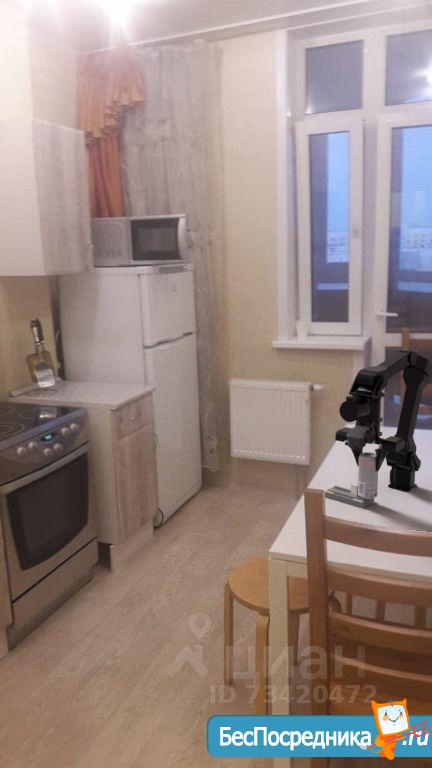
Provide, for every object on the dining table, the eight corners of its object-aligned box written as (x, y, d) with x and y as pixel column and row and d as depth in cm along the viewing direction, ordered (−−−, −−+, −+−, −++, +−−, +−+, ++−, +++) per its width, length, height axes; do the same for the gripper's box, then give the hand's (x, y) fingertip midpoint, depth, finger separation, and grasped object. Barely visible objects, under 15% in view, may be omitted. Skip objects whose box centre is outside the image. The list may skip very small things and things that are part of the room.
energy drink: (374, 491, 175) (375, 451, 173) (379, 498, 170) (380, 457, 167) (355, 492, 175) (356, 452, 173) (360, 499, 170) (361, 458, 167)
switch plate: (374, 501, 175) (374, 494, 174) (363, 508, 171) (363, 501, 170) (335, 490, 184) (335, 484, 183) (324, 496, 179) (324, 489, 179)
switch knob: (361, 495, 175) (361, 484, 175) (356, 498, 174) (357, 486, 173) (355, 493, 177) (355, 482, 176) (350, 496, 175) (350, 484, 174)
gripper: (324, 415, 168) (323, 469, 171) (386, 427, 156) (384, 484, 159) (346, 407, 176) (345, 459, 179) (406, 418, 164) (404, 473, 167)
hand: (368, 468), depth 171 cm, fingers closed on energy drink, 5 cm apart
